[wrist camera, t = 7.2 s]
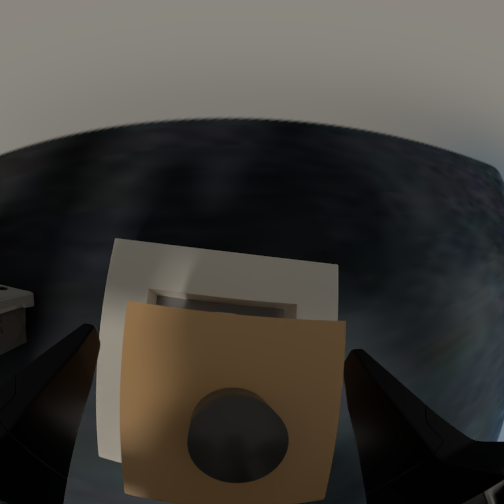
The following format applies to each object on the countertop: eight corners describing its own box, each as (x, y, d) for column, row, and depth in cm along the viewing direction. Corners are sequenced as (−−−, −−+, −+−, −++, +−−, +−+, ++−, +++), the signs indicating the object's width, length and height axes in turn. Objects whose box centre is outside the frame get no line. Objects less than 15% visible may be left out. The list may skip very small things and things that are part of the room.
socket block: (305, 455, 15) (321, 472, 12) (113, 440, 13) (98, 456, 10) (319, 275, 19) (338, 264, 16) (128, 253, 17) (115, 238, 14)
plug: (254, 408, 15) (343, 520, 3) (173, 401, 14) (112, 517, 3) (260, 323, 17) (373, 292, 5) (179, 314, 16) (113, 264, 4)
